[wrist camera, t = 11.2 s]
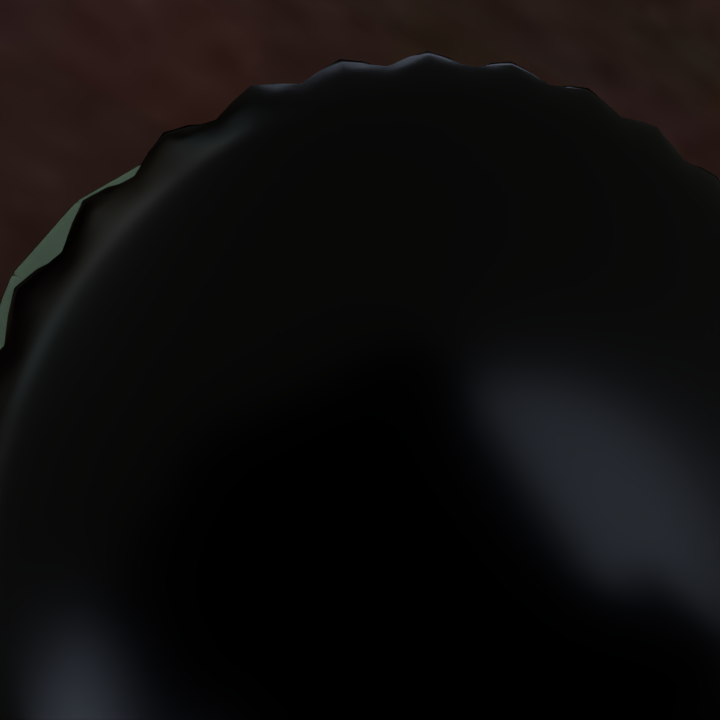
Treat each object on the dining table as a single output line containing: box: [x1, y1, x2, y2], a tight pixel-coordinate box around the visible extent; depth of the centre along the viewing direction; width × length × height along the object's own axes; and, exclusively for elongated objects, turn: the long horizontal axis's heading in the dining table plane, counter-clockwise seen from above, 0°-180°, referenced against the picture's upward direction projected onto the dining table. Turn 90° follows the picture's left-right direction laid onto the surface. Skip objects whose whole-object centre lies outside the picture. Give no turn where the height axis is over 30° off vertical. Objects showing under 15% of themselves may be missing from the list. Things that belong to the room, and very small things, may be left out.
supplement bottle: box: [0, 51, 720, 720], centre depth 8 cm, size 7×7×12 cm
